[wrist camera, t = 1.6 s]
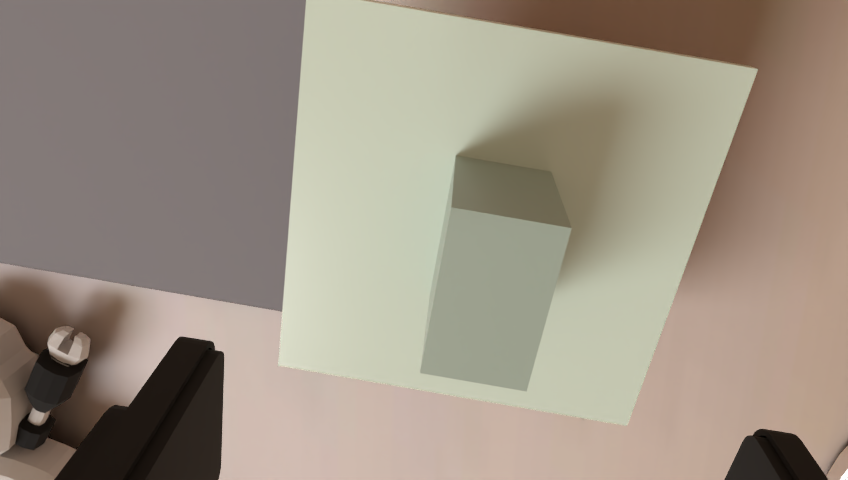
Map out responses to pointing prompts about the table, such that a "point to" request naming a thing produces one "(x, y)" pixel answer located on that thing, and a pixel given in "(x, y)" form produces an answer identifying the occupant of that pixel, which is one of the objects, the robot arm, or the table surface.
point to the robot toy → (36, 401)
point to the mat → (151, 142)
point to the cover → (494, 204)
